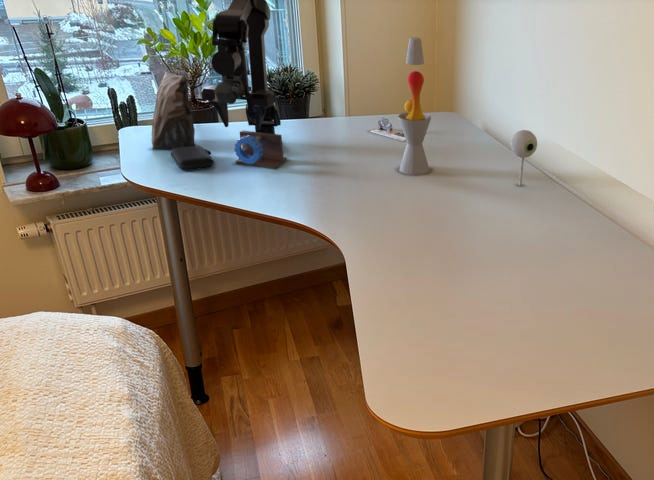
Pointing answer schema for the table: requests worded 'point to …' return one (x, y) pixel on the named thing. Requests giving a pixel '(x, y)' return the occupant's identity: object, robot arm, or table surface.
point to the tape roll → (254, 143)
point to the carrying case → (192, 158)
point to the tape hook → (265, 149)
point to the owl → (172, 115)
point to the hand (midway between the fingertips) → (242, 128)
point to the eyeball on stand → (523, 146)
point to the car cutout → (388, 130)
